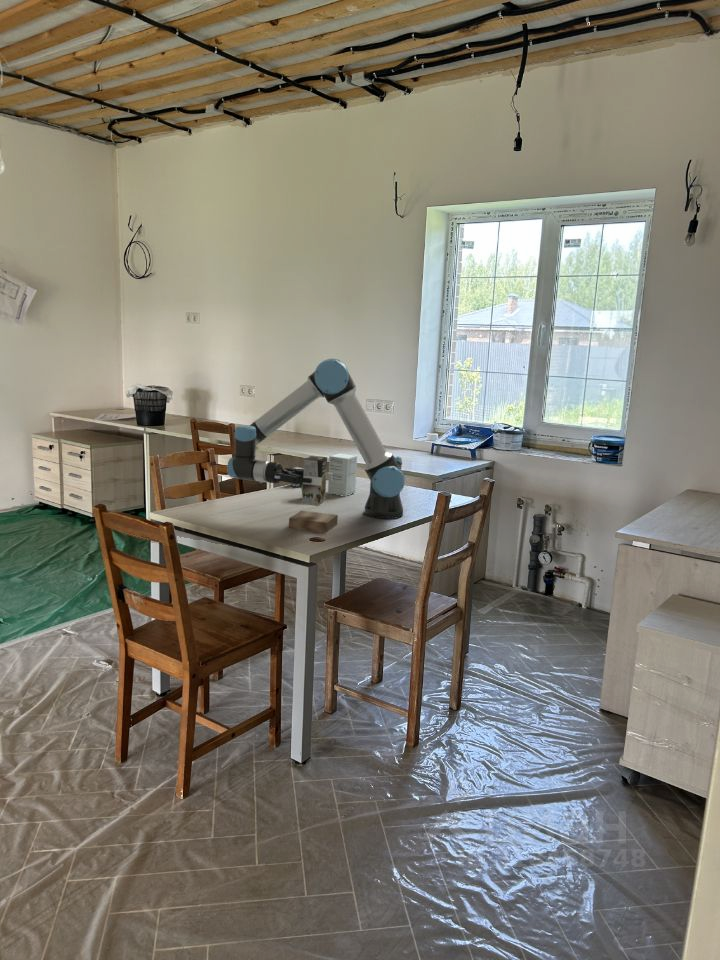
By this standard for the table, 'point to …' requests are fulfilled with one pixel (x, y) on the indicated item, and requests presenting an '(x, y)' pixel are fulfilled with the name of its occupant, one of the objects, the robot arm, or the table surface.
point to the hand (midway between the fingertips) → (326, 479)
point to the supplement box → (342, 474)
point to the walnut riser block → (313, 521)
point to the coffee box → (314, 468)
